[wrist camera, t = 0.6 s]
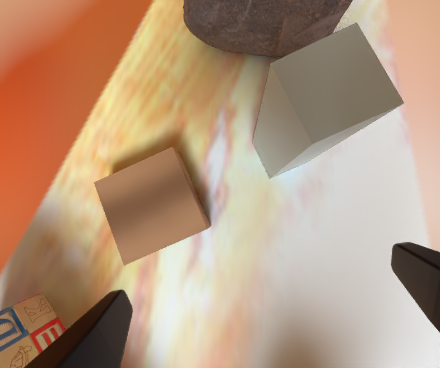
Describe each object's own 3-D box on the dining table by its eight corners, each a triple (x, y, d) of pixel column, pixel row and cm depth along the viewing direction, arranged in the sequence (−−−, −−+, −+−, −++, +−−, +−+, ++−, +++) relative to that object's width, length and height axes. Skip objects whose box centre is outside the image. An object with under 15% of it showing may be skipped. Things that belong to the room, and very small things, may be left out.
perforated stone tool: (187, 61, 23) (164, -1, 16) (194, 16, 23) (175, -63, 16) (331, 72, 21) (376, 8, 14) (336, 23, 22) (382, -61, 15)
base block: (211, 225, 21) (207, 228, 18) (139, 256, 21) (124, 265, 18) (181, 154, 22) (172, 146, 19) (113, 185, 22) (93, 182, 19)
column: (307, 161, 20) (404, 102, 8) (269, 178, 21) (312, 144, 9) (289, 125, 21) (356, 22, 9) (252, 142, 21) (270, 62, 9)
